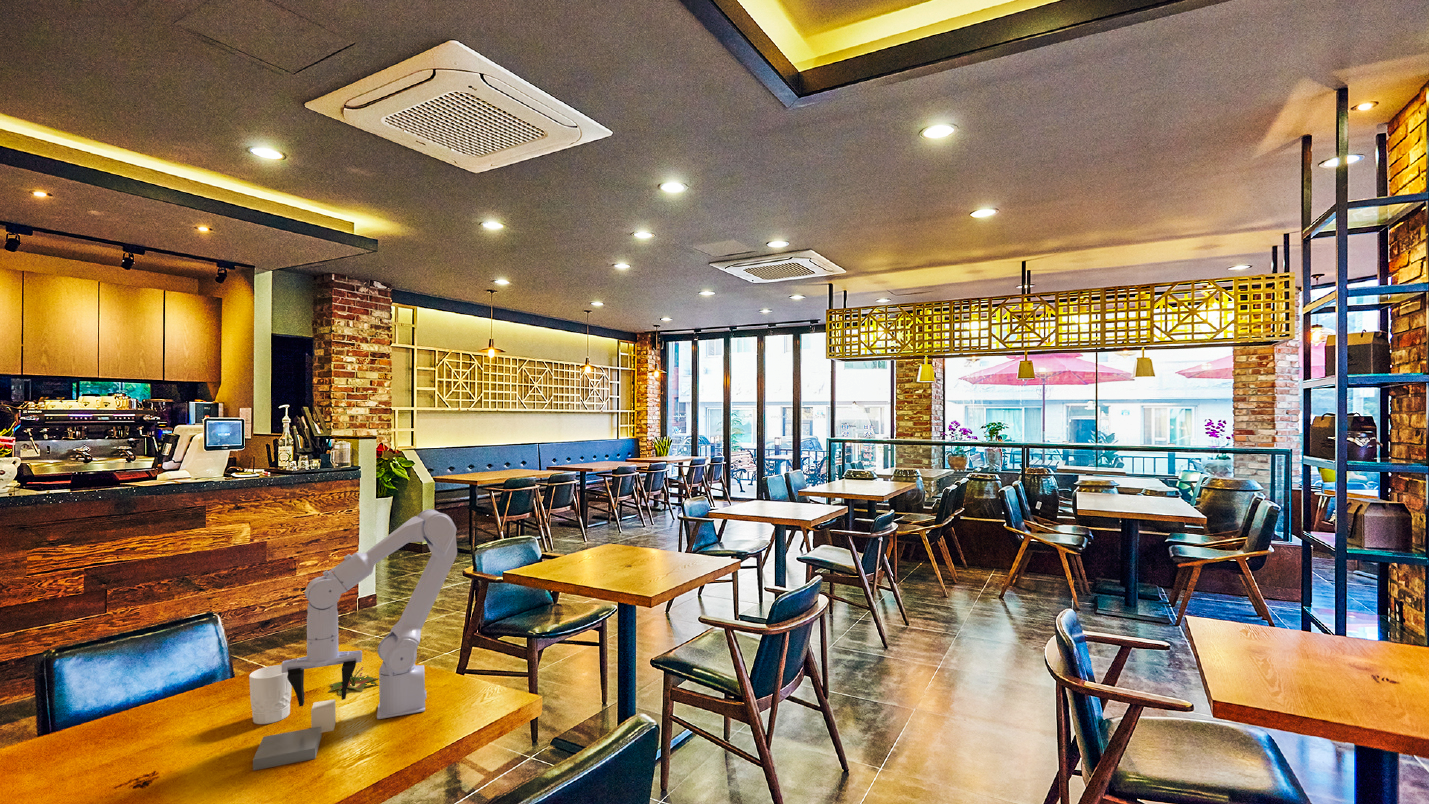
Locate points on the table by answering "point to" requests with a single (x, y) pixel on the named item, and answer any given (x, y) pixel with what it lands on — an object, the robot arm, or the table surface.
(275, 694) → the white cup
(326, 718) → the cream block
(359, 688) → the lily flower
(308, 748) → the slate tile
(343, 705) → the table surface
